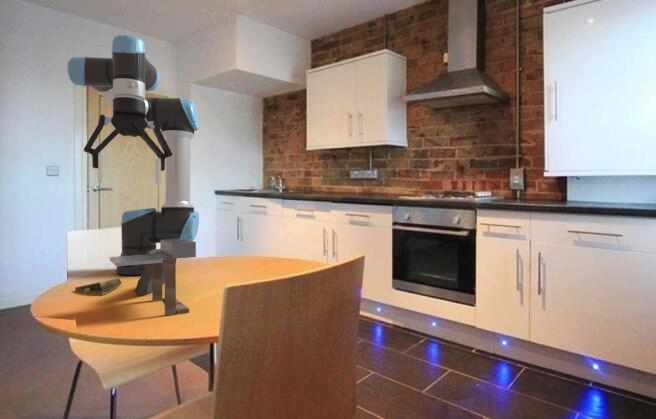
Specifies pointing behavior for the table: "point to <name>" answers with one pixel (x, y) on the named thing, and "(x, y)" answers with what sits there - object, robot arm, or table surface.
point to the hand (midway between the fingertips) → (130, 182)
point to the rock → (99, 287)
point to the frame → (167, 287)
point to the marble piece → (148, 278)
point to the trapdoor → (160, 253)
